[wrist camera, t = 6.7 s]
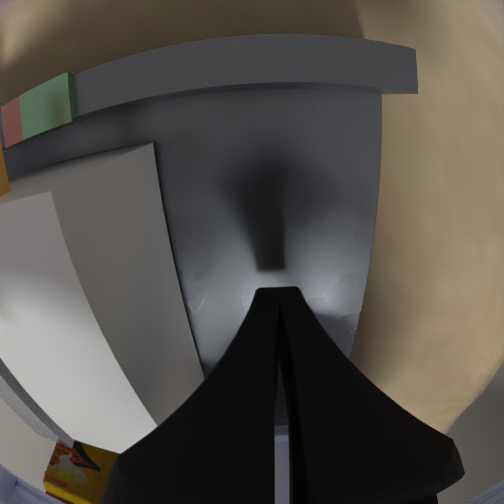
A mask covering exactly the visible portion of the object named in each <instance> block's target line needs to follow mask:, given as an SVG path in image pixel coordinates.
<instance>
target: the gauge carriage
mask: <svg viewBox="0 0 504 504" xmlns="http://www.w3.org/2000/svg"><path fill="white" fill-rule="evenodd" d="M0 358H1V359H2V361H3V362H4V364H5V365H6V366H7V368H8V369H9V370H10V372H11V373H12V374H13V375H14V377H15V378H16V379H17V380H18V382H19V383H20V384H21V385H22V387H23V388H24V389H25V390H26V391H27V393H28V394H29V395H30V396H31V397H32V398H33V399H34V401H35V402H36V403H37V404H38V405H39V406H40V407H41V408H42V409H43V410H44V411H45V413H46V414H47V415H48V416H49V417H50V418H51V419H52V420H53V421H54V422H55V423H56V424H57V425H58V426H59V427H60V428H61V429H62V430H64V431H65V432H66V433H67V434H68V435H69V436H70V437H71V438H72V439H74V440H77V441H80V442H83V443H86V444H89V445H92V446H95V447H99V448H102V449H105V450H109V451H113V452H116V453H120V454H121V453H122V452H124V451H125V450H126V449H128V448H129V447H131V446H132V445H134V444H135V443H136V442H138V441H139V440H141V439H142V438H143V437H145V436H146V435H147V434H149V433H150V432H151V431H153V430H154V429H155V428H156V427H157V426H159V425H160V424H161V423H162V422H163V421H164V420H165V419H166V418H168V417H169V416H170V415H171V414H172V413H173V412H174V411H175V410H176V409H177V408H179V407H180V406H181V405H182V404H183V403H184V402H185V401H186V400H187V399H188V398H189V397H190V395H191V394H192V393H193V392H194V391H195V390H196V389H197V388H198V386H199V385H200V384H201V383H202V382H203V381H204V375H203V372H202V368H201V365H200V362H199V358H198V355H197V352H196V348H195V345H194V341H193V337H192V334H191V330H190V326H189V323H188V319H187V315H186V311H185V307H184V303H183V299H182V295H181V291H180V287H179V283H178V278H177V274H176V270H175V265H174V261H173V256H172V251H171V246H170V242H169V237H168V232H167V227H166V221H165V216H164V211H163V205H162V199H161V193H160V187H159V181H158V175H157V168H156V162H155V154H154V147H153V143H149V144H143V145H137V146H132V147H126V148H121V149H116V150H112V151H107V152H102V153H98V154H94V155H89V156H85V157H81V158H77V159H73V160H69V161H66V162H62V163H59V164H55V165H52V166H48V167H45V168H42V169H38V170H35V171H32V172H29V173H26V174H24V175H22V176H20V177H18V178H15V179H13V180H11V181H9V182H8V177H7V172H6V168H5V162H4V157H3V151H2V144H1V137H0Z"/></svg>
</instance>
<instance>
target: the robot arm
mask: <svg viewBox="0 0 504 504" xmlns="http://www.w3.org/2000/svg"><path fill="white" fill-rule="evenodd" d="M279 361H280V368H281V376H282V383H283V390H284V397H285V404H286V411H287V420H288V435H275V408H276V396H277V383H278V370H279ZM464 473H465V472H464V469H463V465H462V461H461V458H460V455H459V452H458V450H457V448H456V446H455V443H454V441H453V439H451V438H449V437H448V436H446V435H444V434H442V433H441V432H439V431H437V430H435V429H434V428H432V427H430V426H428V425H427V424H425V423H423V422H422V421H420V420H419V419H417V418H416V417H415V416H413V415H412V414H410V413H409V412H408V411H406V410H405V409H403V408H402V407H401V406H399V405H398V404H397V403H396V402H395V401H393V400H392V399H391V398H390V397H388V396H387V395H386V394H385V393H384V392H382V391H381V390H380V389H379V388H377V387H376V386H375V385H374V384H373V383H372V382H371V381H370V380H369V379H368V378H367V377H366V376H365V375H364V374H363V373H362V372H361V371H360V370H359V369H358V368H357V367H356V366H355V365H354V364H353V363H352V362H351V361H350V360H349V359H348V358H347V356H346V355H345V354H344V353H343V352H342V351H341V349H340V348H339V347H338V346H337V345H336V343H335V342H334V341H333V340H332V338H331V337H330V336H329V334H328V333H327V332H326V330H325V329H324V327H323V326H322V325H321V323H320V322H319V320H318V319H317V318H316V316H315V314H314V313H313V311H312V310H311V308H310V306H309V305H308V303H307V301H306V300H305V298H304V296H303V294H302V292H301V290H300V288H298V287H297V286H287V287H261V288H258V289H256V290H255V294H254V297H253V300H252V303H251V305H250V308H249V310H248V312H247V314H246V316H245V318H244V320H243V322H242V324H241V326H240V328H239V330H238V332H237V334H236V335H235V337H234V339H233V340H232V342H231V343H230V345H229V347H228V348H227V350H226V351H225V353H224V354H223V356H222V357H221V359H220V360H219V362H218V363H217V364H216V366H215V367H214V368H213V370H212V371H211V372H210V373H209V375H208V376H207V377H206V378H205V380H204V381H203V382H202V383H201V384H200V385H199V386H198V388H197V389H196V390H195V391H194V392H193V393H192V394H191V395H190V397H189V398H188V399H187V400H186V401H185V402H184V403H183V404H182V405H181V406H180V407H179V408H177V409H176V410H175V411H174V412H173V413H172V414H171V415H170V416H169V417H168V418H166V419H165V420H164V421H163V422H162V423H161V424H160V425H159V426H157V427H156V428H155V429H154V430H153V431H151V432H150V433H149V434H147V435H146V436H145V437H143V438H142V439H141V440H139V441H138V442H136V443H135V444H134V445H132V446H131V447H129V448H128V449H126V450H125V451H124V452H122V453H121V454H119V455H118V456H117V457H116V460H115V462H114V464H113V466H112V468H111V470H110V473H109V475H108V478H107V482H106V485H105V489H104V493H103V496H102V500H101V504H438V499H437V495H436V494H437V493H439V492H441V491H443V490H444V489H446V488H448V487H449V486H451V485H452V484H454V483H456V482H457V481H458V480H460V479H461V478H462V477H463V475H464ZM0 504H65V503H63V502H61V501H59V500H57V499H55V498H53V497H51V496H49V495H47V494H45V493H44V492H43V491H41V490H40V489H38V488H36V487H34V486H32V485H31V484H29V483H28V482H26V481H24V480H23V479H21V478H20V477H18V476H17V475H15V474H14V473H12V472H11V471H9V470H8V469H6V468H5V467H3V466H2V465H1V464H0ZM462 504H504V480H502V481H501V482H499V483H498V484H496V485H494V486H493V487H491V488H490V489H488V490H486V491H484V492H483V493H481V494H479V495H477V496H475V497H473V498H472V499H470V500H468V501H466V502H464V503H462Z"/></svg>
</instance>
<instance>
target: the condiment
mask: <svg viewBox="0 0 504 504" xmlns="http://www.w3.org/2000/svg"><path fill="white" fill-rule="evenodd" d="M119 454H120V453H116V452H113V451H109V450H105V449H102V448H99V447H95V446H92V445H89V444H86V443H83V442H80V441H77V440H75V441H74V443H73V446H72V448H69V447H67V446H64V445H62V444H59V443H56V446H55V449H54V452H53V454H52V457H51V459H50V462H49V465H48V467H47V470H46V472H45V477H44V479H43V483H44V487H45V489H46V492H45V494H47V495H49V496H51V497H53V498H55V499H57V500H59V501H61V502H63V503H65V504H101V500H102V496H103V493H104V489H105V485H106V482H107V478H108V475H109V473H110V470H111V468H112V466H113V464H114V462H115V460H116V457H117V456H118V455H119Z"/></svg>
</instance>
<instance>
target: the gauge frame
mask: <svg viewBox="0 0 504 504" xmlns="http://www.w3.org/2000/svg"><path fill="white" fill-rule="evenodd" d="M381 94H418V82H417V64H416V51H415V49H413V48H409V47H405V46H400V45H395V44H390V43H385V42H380V41H374V40H367V39H360V38H352V37H344V36H333V35H319V34H291V33H280V34H251V35H237V36H227V37H218V38H210V39H203V40H196V41H190V42H184V43H179V44H174V45H169V46H164V47H160V48H155V49H151V50H147V51H143V52H140V53H136V54H132V55H129V56H125V57H122V58H119V59H115V60H112V61H109V62H106V63H103V64H100V65H98V66H95V67H92V68H89V69H87V70H84V71H81V72H79V73H76V74H74V75H72V72H66V73H63V74H61V75H59V76H57V77H55V78H53V79H50V80H48V81H46V82H44V83H42V84H40V85H38V86H36V87H34V88H33V89H31V90H29V91H27V92H25V93H23V94H22V95H20V96H18V97H16V98H15V99H13V100H11V101H10V102H8V103H6V104H5V105H3V106H1V112H0V137H1V144H2V151H3V157H4V162H5V168H6V172H7V177H8V182H9V181H11V180H13V179H15V178H18V177H20V176H22V175H24V174H26V173H29V172H32V171H35V170H38V169H42V168H45V167H48V166H52V165H55V164H59V163H62V162H66V161H69V160H73V159H77V158H81V157H85V156H89V155H94V154H98V153H102V152H107V151H112V150H116V149H121V148H126V147H132V146H137V145H143V144H149V143H153V147H154V154H155V162H156V168H157V175H158V181H159V187H160V193H161V199H162V205H163V211H164V216H165V221H166V227H167V232H168V237H169V242H170V246H171V251H172V256H173V261H174V265H175V270H176V274H177V278H178V283H179V287H180V291H181V295H182V299H183V303H184V307H185V311H186V315H187V319H188V323H189V326H190V330H191V334H192V337H193V341H194V345H195V348H196V352H197V355H198V358H199V362H200V365H201V368H202V372H203V375H204V380H205V378H206V377H207V376H208V375H209V373H210V372H211V371H212V370H213V368H214V367H215V366H216V364H217V363H218V362H219V360H220V359H221V357H222V356H223V354H224V353H225V351H226V350H227V348H228V347H229V345H230V343H231V342H232V340H233V339H234V337H235V335H236V334H237V332H238V330H239V328H240V326H241V324H242V322H243V320H244V318H245V316H246V314H247V312H248V310H249V308H250V305H251V303H252V300H253V297H254V294H255V290H256V289H258V288H261V287H287V286H297V287H298V288H300V290H301V292H302V294H303V296H304V298H305V300H306V301H307V303H308V305H309V306H310V308H311V310H312V311H313V313H314V314H315V316H316V318H317V319H318V320H319V322H320V323H321V325H322V326H323V327H324V329H325V330H326V332H327V333H328V334H329V336H330V337H331V338H332V340H333V341H334V342H335V343H336V345H337V346H338V347H339V348H340V349H341V351H342V352H343V353H344V354H345V355H346V356H347V358H348V359H350V355H351V351H352V347H353V343H354V339H355V335H356V330H357V326H358V322H359V317H360V313H361V308H362V303H363V298H364V293H365V287H366V282H367V276H368V270H369V264H370V258H371V251H372V245H373V237H374V229H375V221H376V212H377V202H378V191H379V178H380V161H381V133H382V100H381ZM0 397H1V398H2V399H3V400H4V401H5V402H6V403H7V404H8V405H9V406H10V407H11V408H12V410H13V411H14V412H15V413H16V414H17V415H18V416H19V417H20V418H21V419H22V420H23V421H24V422H26V424H27V425H29V426H30V427H31V428H32V429H33V430H34V431H35V432H36V433H37V434H39V435H41V436H43V437H45V438H48V439H50V440H52V441H54V442H57V443H59V444H62V445H64V446H67V447H69V448H72V446H73V443H74V441H75V440H74V439H72V438H71V437H70V436H69V435H68V434H67V433H66V432H65V431H64V430H62V429H61V428H60V427H59V426H58V425H57V424H56V423H55V422H54V421H53V420H52V419H51V418H50V417H49V416H48V415H47V414H46V413H45V411H44V410H43V409H42V408H41V407H40V406H39V405H38V404H37V403H36V402H35V401H34V399H33V398H32V397H31V396H30V395H29V394H28V393H27V391H26V390H25V389H24V388H23V387H22V385H21V384H20V383H19V382H18V380H17V379H16V378H15V377H14V375H13V374H12V373H11V372H10V370H9V369H8V368H7V366H6V365H5V364H4V362H3V361H2V359H1V358H0ZM275 435H288V420H287V411H286V404H285V397H284V390H283V383H282V376H281V368H280V361H279V370H278V383H277V396H276V408H275Z"/></svg>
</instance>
